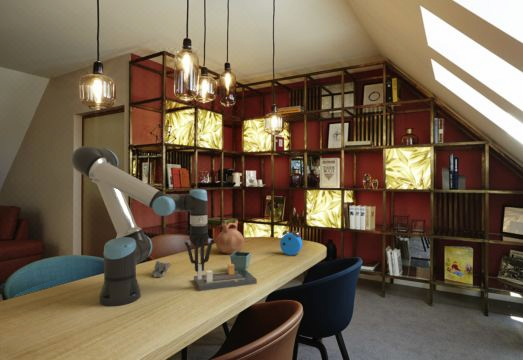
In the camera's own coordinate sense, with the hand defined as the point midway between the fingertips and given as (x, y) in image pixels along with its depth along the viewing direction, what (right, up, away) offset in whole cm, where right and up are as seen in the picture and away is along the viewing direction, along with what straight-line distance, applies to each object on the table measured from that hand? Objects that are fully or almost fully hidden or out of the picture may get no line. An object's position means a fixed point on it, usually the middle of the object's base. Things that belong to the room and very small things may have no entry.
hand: (199, 278), depth 140 cm
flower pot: (+16, -4, +25) cm, 30 cm away
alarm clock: (+46, -4, +60) cm, 75 cm away
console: (+10, -4, +8) cm, 13 cm away
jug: (+7, -4, +66) cm, 67 cm away
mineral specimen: (-22, -4, +19) cm, 30 cm away
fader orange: (+13, -2, +13) cm, 18 cm away
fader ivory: (+4, -2, +2) cm, 5 cm away
